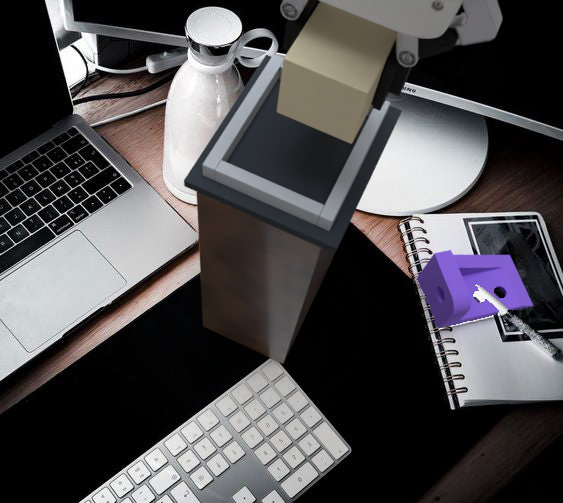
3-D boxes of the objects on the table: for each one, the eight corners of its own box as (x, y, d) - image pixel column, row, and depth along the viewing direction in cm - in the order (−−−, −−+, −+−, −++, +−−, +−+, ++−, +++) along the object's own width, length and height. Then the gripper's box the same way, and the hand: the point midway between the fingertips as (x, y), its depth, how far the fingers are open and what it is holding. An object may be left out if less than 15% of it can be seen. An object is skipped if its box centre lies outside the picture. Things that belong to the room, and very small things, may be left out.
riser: (330, 263, 75) (388, 111, 50) (283, 364, 68) (322, 248, 44) (256, 230, 76) (276, 65, 51) (202, 326, 70) (196, 191, 45)
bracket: (436, 331, 72) (457, 309, 66) (416, 278, 75) (434, 253, 69) (527, 310, 74) (555, 287, 68) (504, 260, 77) (529, 234, 71)
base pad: (399, 116, 50) (407, 98, 48) (334, 253, 44) (340, 239, 42) (265, 61, 51) (267, 40, 49) (183, 186, 45) (182, 169, 43)
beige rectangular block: (400, 48, 41) (420, -9, 37) (351, 144, 37) (368, 93, 33) (332, 20, 42) (344, -38, 38) (276, 112, 37) (283, 58, 33)
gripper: (178, -301, 22) (193, 64, 38) (637, -140, 20) (450, 173, 36) (266, -371, 26) (246, -8, 42) (668, -239, 24) (484, 88, 40)
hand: (342, 74), depth 39 cm, fingers closed on beige rectangular block, 5 cm apart
